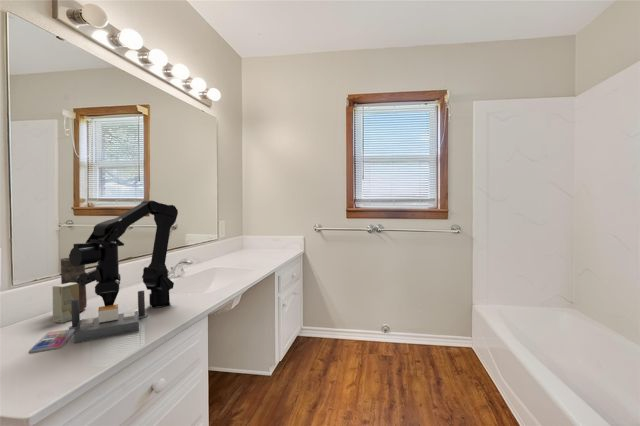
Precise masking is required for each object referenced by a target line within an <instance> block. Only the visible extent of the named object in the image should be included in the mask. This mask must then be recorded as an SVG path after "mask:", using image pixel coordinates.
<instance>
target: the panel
mask: <svg viewBox="0 0 640 426" xmlns="http://www.w3.org/2000/svg"><path fill="white" fill-rule="evenodd" d="M139 331H140V319H139V318H138V310H137V311H135V310H132V311H128V312H122V313H118V319H117V320H111V321H105V322H99V316H98V317H89V318H84V319H80V320H79V322H78V324H77V327H76V329H75V331H74V334H73V344H78V343H83V342H89V341H94V340H99V339H105V338H111V337H115V336H121V335H125V334H132V333H136V332H137V333H138V332H139Z"/></svg>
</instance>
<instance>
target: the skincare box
mask: <svg viewBox="0 0 640 426" xmlns="http://www.w3.org/2000/svg"><path fill="white" fill-rule="evenodd" d="M74 299H79V284H78V283H66V284H61V283H60V284H58V285H53V286H52V323H61V324H62V323H66V322H69V321H72V309H71V300H74Z"/></svg>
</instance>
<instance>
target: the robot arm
mask: <svg viewBox="0 0 640 426" xmlns="http://www.w3.org/2000/svg"><path fill="white" fill-rule="evenodd" d="M178 213H179V211H178V208H177V207H176V206H175V205H173V204H166V203H165V204H164V203H162V202H158V201H155V200H153V199H152V200H143V201H141V203H139V204H137V205H136V206H134V207H132V208H131V209H129V210H127V211H126V212H124V213H122V214H121V215H119V216H116V217H115V218H112V219H108V220H104V221H101V222H98V223H97V224H95V225H94V226H93V231H92V233H91V234H90V235H89V237H88V238H87V240H86V241H85V242H82V243H79V242H78V243H77V242H76V243H73V248H71V249H70V252H69V254H68V258H69V260H70V262H71V264H72V265H73V266H81V265H85V266H86V265H92V264H97V265H96V266H95V269H92V270H90V271H85V272H84V273H82V274H80V275H79V276H77V278H76V280H77V283H78V284H79V286H80V287H83V286H85V285H86V286H87V285H89V284H90V283H93V282H96V284H95V286H94V293H95V294H96V295H97V296H98V297H99V296H100V297H101V298H102V301H103V303H104V306H109V305H115V302H116V300H117V296H118V294H119V291H120V284H121V277H122V276H121V274H120V271H119V266H120V265H119V264H120V262H119V247H124V245H125V243H124V242H123V241H121V239H120V237H122V236H123V235H124V234H125V233H126V231H127V229H128V228H129V227H130V226H131V225H134V224H135V223H136V222H138V221H139V220H141V219H143V218H144V217H146V216H147V215H152V216H153V220H154V222H155V225H156V229H155V236H154V242H153V247H152V254H151V261H150V263H149V265H148V266H144V267H143V270H142V271H143V272H142V275H141V278H142V282H143V284H144V285H145V287H146V290H147V291H149V290H150V293H149V294H148V295H149V297H148V299H149V302H148V303H149V306H150V308H151V309H155V308H162V307H166V306H171V302H170V300H171V299H170V290H172V289H173V288H174V285H175V284H174V281H172V280H171V278H169V270H168V268H167V266H166V260H167V254H168V248H169V247H168V246H169V240H170V235H171V234H170V233H171V229H172V226H174V224H175V223H176V220H177V217H178Z"/></svg>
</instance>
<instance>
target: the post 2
mask: <svg viewBox="0 0 640 426" xmlns="http://www.w3.org/2000/svg"><path fill="white" fill-rule="evenodd" d="M145 303H146V300H145V290H138V291H137V307H138V308H137V311H138V318H139V320H141V319H142V320H143V319H145V318H148V317H149V315H148V313H146V308H145V307H146V304H145Z"/></svg>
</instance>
